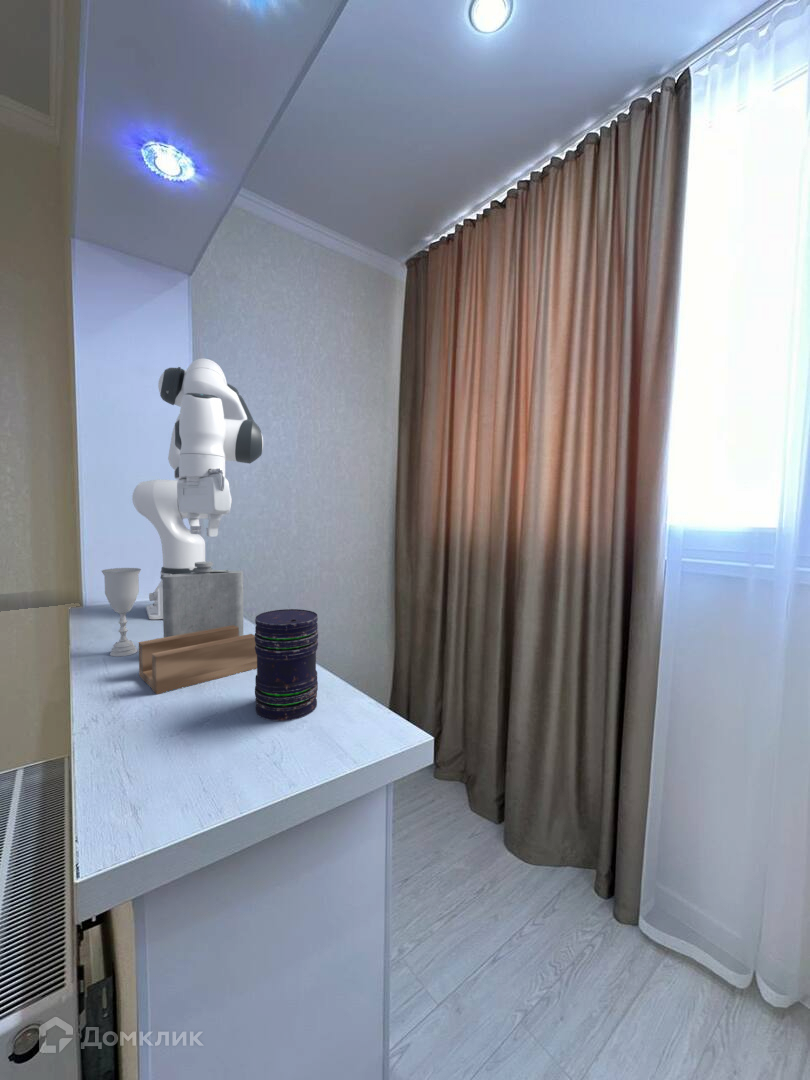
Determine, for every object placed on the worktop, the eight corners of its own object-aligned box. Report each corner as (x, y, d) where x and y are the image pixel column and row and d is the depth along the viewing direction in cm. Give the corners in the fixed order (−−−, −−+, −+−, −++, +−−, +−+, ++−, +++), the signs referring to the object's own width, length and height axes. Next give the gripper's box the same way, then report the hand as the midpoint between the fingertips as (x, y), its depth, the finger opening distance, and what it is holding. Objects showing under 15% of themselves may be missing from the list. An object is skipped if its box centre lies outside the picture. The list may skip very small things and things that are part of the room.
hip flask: (164, 661, 89) (162, 565, 87) (162, 655, 92) (161, 562, 91) (245, 649, 98) (244, 561, 96) (240, 644, 101) (240, 559, 100)
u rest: (139, 675, 81) (138, 642, 81) (234, 654, 94) (233, 625, 93) (156, 694, 74) (155, 657, 73) (257, 668, 86) (257, 636, 86)
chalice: (150, 648, 97) (148, 568, 95) (128, 658, 90) (125, 573, 89) (119, 646, 97) (117, 567, 96) (95, 656, 91) (92, 571, 89)
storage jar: (246, 702, 71) (246, 613, 70) (303, 688, 77) (303, 606, 76) (267, 728, 63) (266, 628, 62) (328, 710, 69) (329, 619, 68)
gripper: (238, 468, 87) (239, 537, 88) (200, 473, 101) (201, 532, 102) (206, 466, 83) (207, 538, 83) (171, 471, 97) (172, 533, 98)
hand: (203, 535), depth 93 cm, fingers open, 8 cm apart
